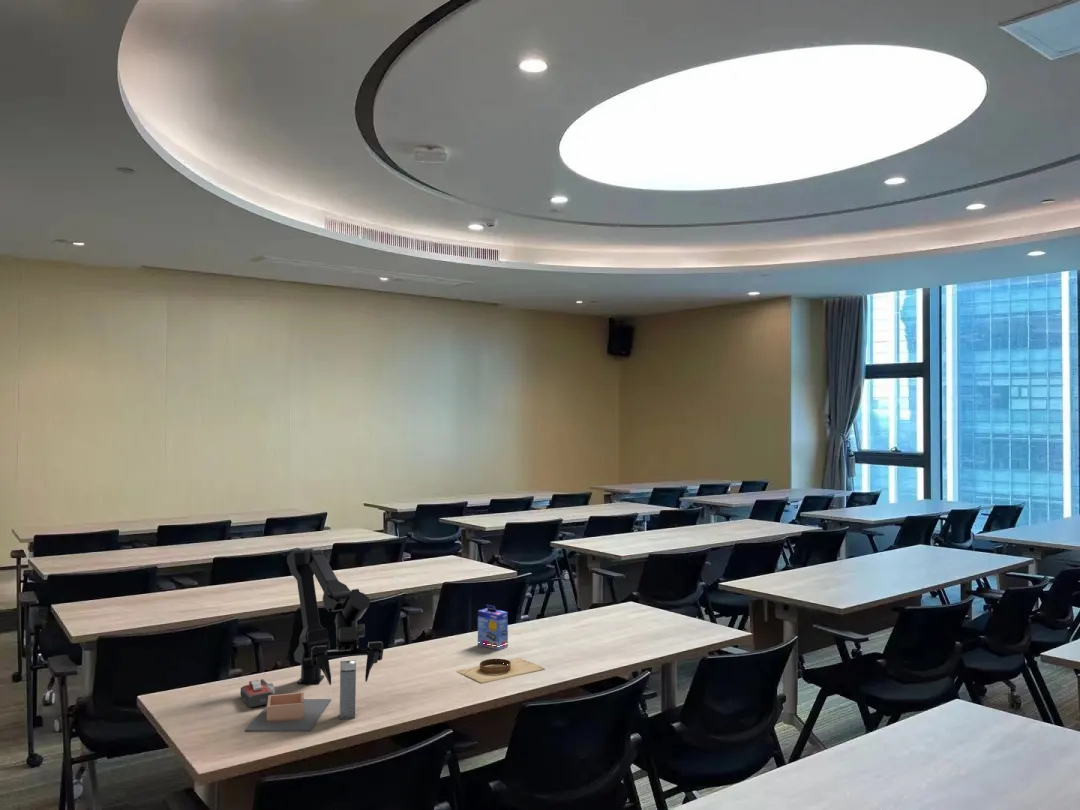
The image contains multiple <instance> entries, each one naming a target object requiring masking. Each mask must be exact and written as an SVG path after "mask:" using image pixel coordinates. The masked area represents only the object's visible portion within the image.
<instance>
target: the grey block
mask: <svg viewBox="0 0 1080 810" xmlns="http://www.w3.org/2000/svg"><path fill="white" fill-rule="evenodd" d="M339 664H340V668H339V671H340V673H339V720H347V719H355V718H356V690H357V688H356V687H357V685H356V684H357V683H356V682H357V660H342V661H340V663H339Z"/></svg>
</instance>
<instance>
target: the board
mask: <svg viewBox="0 0 1080 810" xmlns="http://www.w3.org/2000/svg"><path fill="white" fill-rule="evenodd" d="M503 663H504V664H503ZM507 664H508V665H507ZM545 670H546V669H545V668H544V667H542V666H541V665H539V664H536V663H534V662H531V661H527V660H526V659H522V658H519V657H518V658H512V659H509V660H508V659H504V658H489V659H485V660H482V661H481V662H480V663H479V666H476V667H475V666H474V667H470V668H466V669H465V668H464V669H460V670H456V671H455V672H456V673H457V674H459V675H461V676H463V677H465V678H467V679H470V680H471V681H474V682H476V683H479V684H481V685H482V684H487V683H492V682H495V681H501V680H505V679H510V678H514V677H518V676H523V675H527V674H532V673H537V672H541V671H545Z"/></svg>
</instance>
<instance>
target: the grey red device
mask: <svg viewBox="0 0 1080 810" xmlns="http://www.w3.org/2000/svg"><path fill="white" fill-rule="evenodd" d="M239 693H240V698H241V699H243V701H244V702H245V704H246V705H247V706H248V707H250V708H255V707H259V706H267V703H268V695H276V686H275V685H274V684H273V683H272V682H271V683H268V682H266V680H265V679H263V678H261V679H260V681H259V680H258V679H254V680H249V682H248V684H246V685H243V686H241V687H240V692H239Z"/></svg>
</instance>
